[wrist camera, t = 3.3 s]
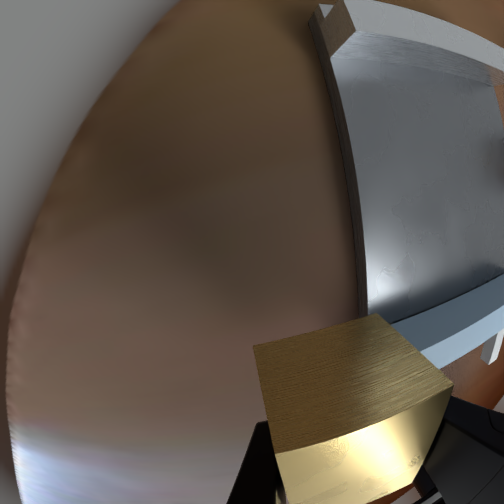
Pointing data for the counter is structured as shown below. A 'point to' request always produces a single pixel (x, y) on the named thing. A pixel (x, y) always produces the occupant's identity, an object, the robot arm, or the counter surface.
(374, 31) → the bar
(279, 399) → the block
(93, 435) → the counter surface
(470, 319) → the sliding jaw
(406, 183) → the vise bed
